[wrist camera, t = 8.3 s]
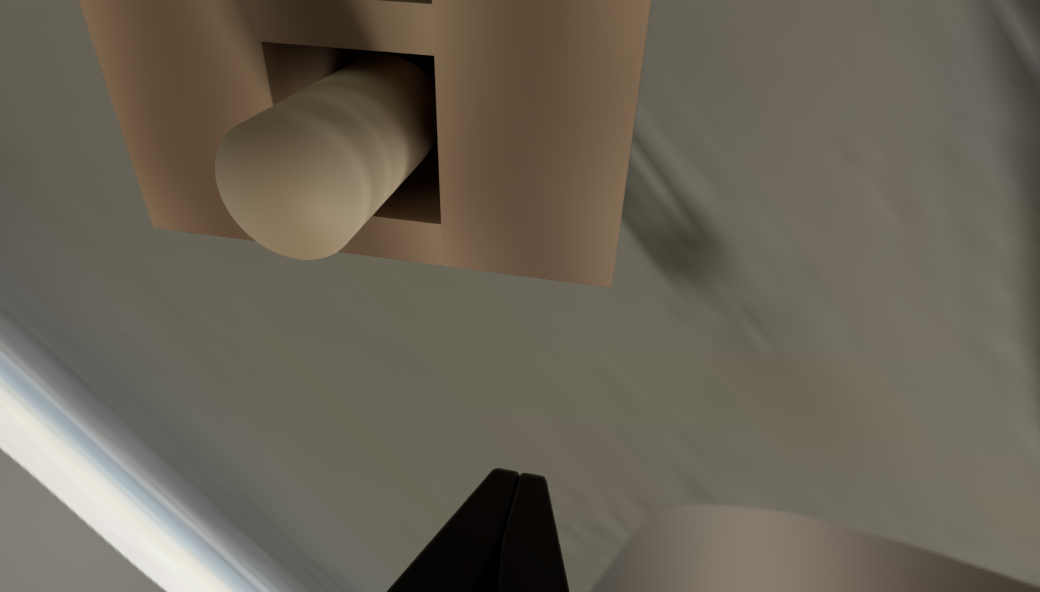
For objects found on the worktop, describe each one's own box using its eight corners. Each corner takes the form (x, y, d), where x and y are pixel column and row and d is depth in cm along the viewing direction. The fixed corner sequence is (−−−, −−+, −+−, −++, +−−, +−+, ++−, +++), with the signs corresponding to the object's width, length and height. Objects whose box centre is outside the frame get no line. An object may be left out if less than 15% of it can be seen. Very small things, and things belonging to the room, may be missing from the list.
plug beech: (441, 57, 17) (348, 125, 12) (445, 169, 19) (365, 268, 14) (331, 48, 17) (198, 110, 12) (345, 158, 19) (233, 250, 14)
